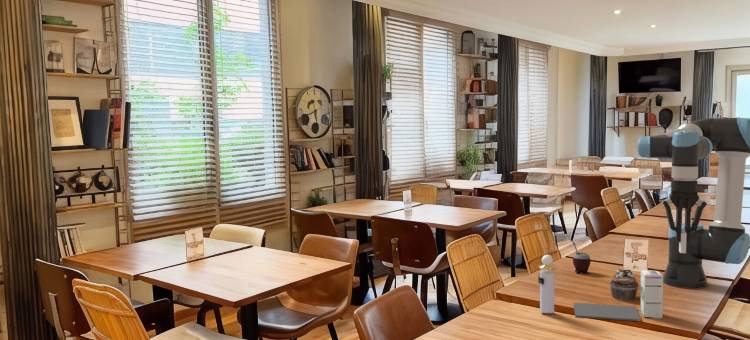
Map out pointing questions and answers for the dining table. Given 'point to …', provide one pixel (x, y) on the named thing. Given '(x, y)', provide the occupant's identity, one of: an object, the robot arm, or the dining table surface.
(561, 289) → the dining table surface
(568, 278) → the dining table surface
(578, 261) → the mate gourd
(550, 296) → the perfume bottle
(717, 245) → the robot arm
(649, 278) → the syrup box
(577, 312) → the topple mat
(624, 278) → the cupcake
